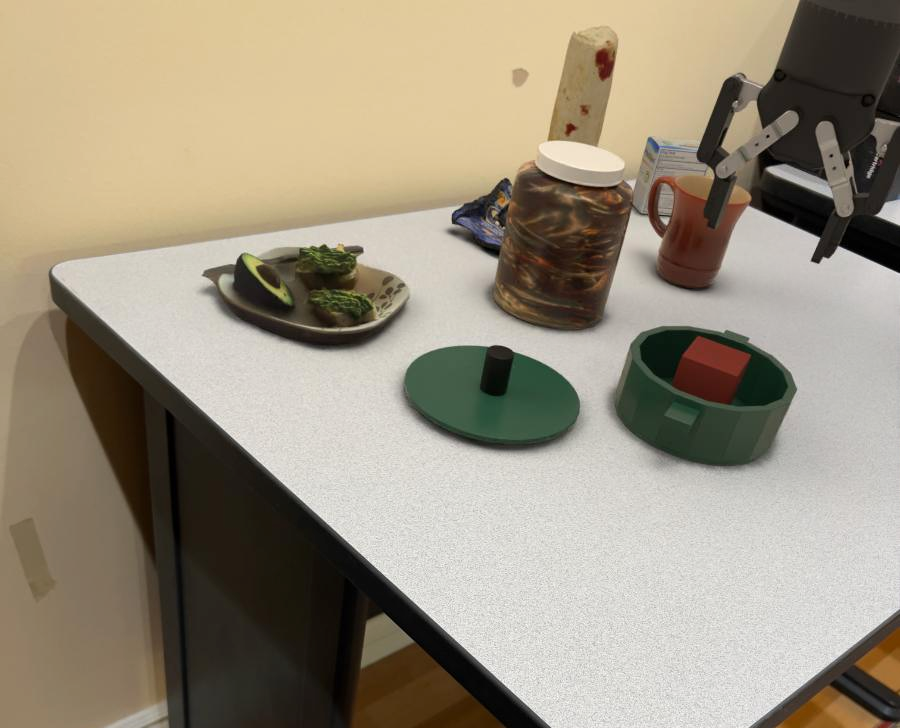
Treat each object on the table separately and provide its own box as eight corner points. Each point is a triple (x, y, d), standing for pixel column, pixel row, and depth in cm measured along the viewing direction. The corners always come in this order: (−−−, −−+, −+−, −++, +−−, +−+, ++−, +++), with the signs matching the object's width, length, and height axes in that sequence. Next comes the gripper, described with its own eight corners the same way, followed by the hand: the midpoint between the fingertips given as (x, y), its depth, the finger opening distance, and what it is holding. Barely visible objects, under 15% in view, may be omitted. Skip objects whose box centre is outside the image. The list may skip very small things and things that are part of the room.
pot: (791, 404, 86) (815, 353, 83) (742, 502, 73) (768, 446, 69) (652, 352, 90) (669, 301, 86) (580, 436, 76) (596, 379, 73)
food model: (582, 215, 116) (625, 40, 103) (532, 205, 116) (569, 28, 103) (585, 191, 123) (626, 25, 110) (539, 181, 123) (573, 13, 110)
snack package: (567, 256, 106) (523, 214, 113) (573, 202, 101) (527, 162, 108) (475, 276, 102) (436, 231, 110) (477, 221, 98) (436, 179, 105)
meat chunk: (727, 413, 82) (751, 354, 78) (713, 436, 79) (737, 376, 75) (676, 394, 83) (698, 335, 79) (660, 416, 80) (682, 355, 76)
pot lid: (602, 396, 82) (616, 350, 79) (534, 473, 71) (547, 423, 68) (454, 339, 86) (462, 292, 83) (369, 403, 75) (374, 353, 72)
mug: (733, 286, 106) (766, 197, 99) (691, 300, 101) (723, 208, 94) (655, 247, 112) (682, 161, 105) (612, 258, 107) (636, 169, 100)
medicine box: (680, 206, 125) (701, 140, 119) (693, 218, 122) (715, 151, 116) (629, 202, 123) (647, 134, 117) (640, 214, 120) (660, 146, 114)
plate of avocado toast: (294, 240, 97) (295, 197, 94) (440, 291, 93) (446, 247, 90) (182, 300, 83) (179, 252, 80) (347, 362, 80) (351, 314, 76)
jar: (575, 280, 100) (611, 138, 90) (619, 330, 93) (663, 180, 82) (478, 279, 97) (504, 131, 87) (515, 331, 89) (548, 175, 79)
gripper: (970, 25, 60) (859, 259, 71) (768, -27, 64) (692, 204, 75) (962, 37, 55) (844, 287, 66) (743, -20, 59) (665, 227, 70)
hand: (763, 242), depth 70 cm, fingers open, 8 cm apart
